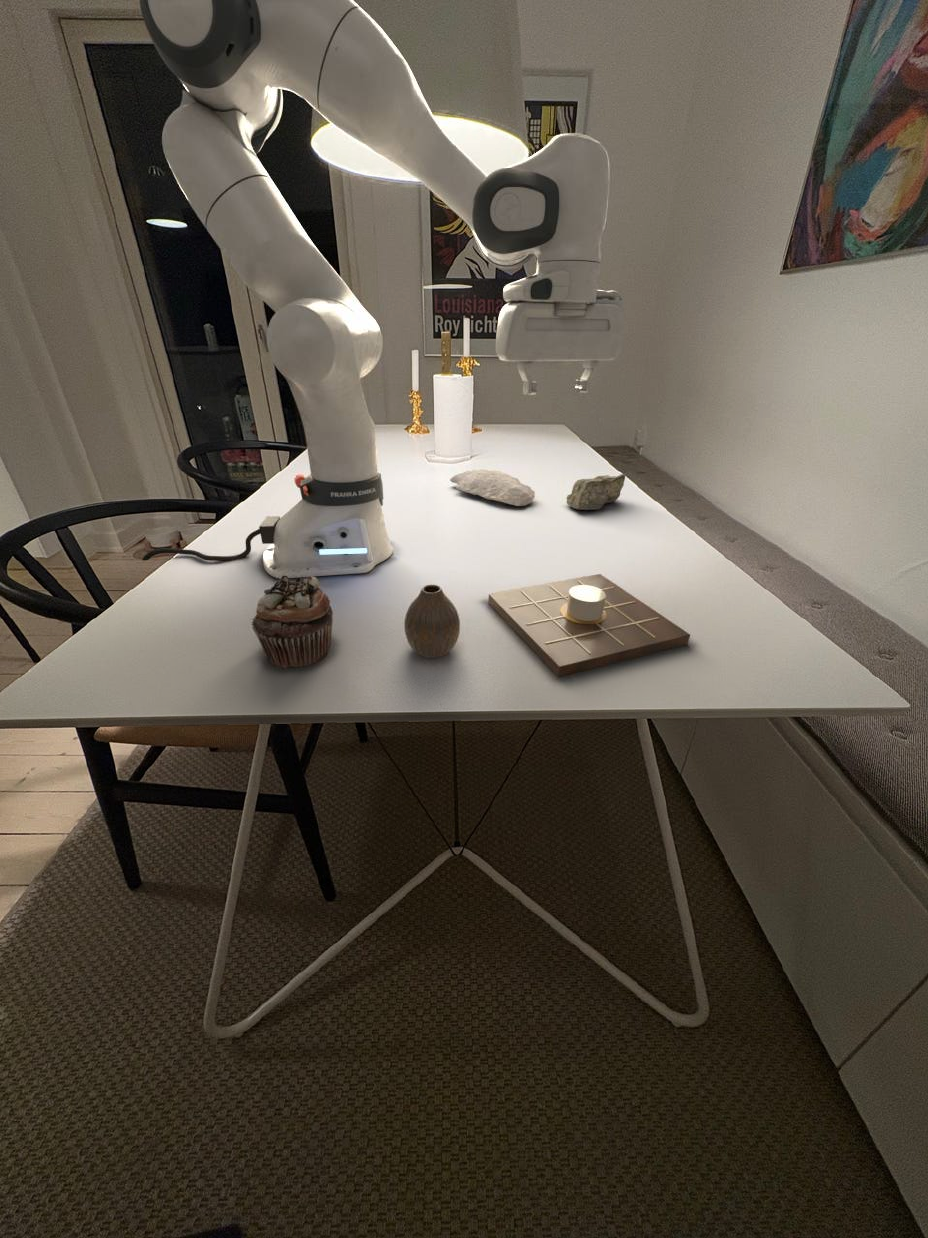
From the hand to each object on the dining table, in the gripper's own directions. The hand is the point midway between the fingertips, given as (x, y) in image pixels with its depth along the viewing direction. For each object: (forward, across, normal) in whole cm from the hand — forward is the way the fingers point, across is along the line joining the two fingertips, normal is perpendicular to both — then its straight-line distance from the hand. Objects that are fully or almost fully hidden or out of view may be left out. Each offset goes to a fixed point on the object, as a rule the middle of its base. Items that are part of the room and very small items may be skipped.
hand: (555, 393), depth 80 cm
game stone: (+26, +7, +24) cm, 36 cm away
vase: (+27, +29, +23) cm, 46 cm away
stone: (+27, -8, -37) cm, 47 cm away
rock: (+27, -26, -21) cm, 43 cm away
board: (+27, +7, +24) cm, 37 cm away
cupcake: (+27, +45, +17) cm, 55 cm away
